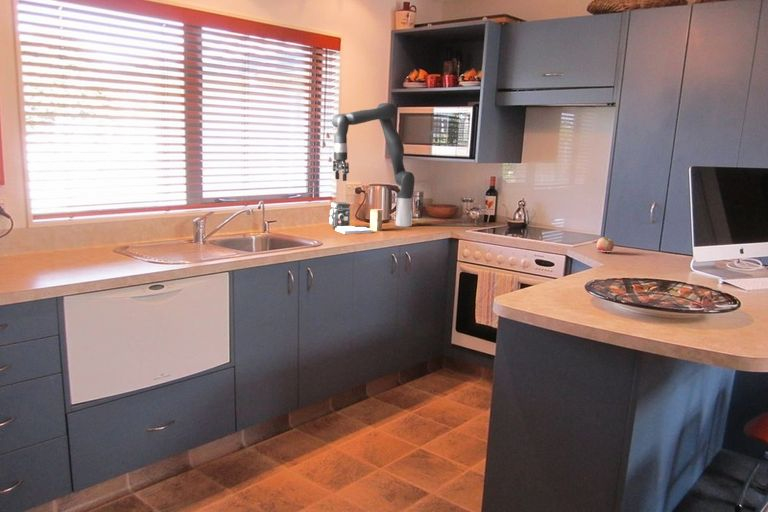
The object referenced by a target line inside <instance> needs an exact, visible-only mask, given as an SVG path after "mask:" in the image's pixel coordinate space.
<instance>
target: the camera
mask: <svg viewBox="0 0 768 512" xmlns="http://www.w3.org/2000/svg"><path fill="white" fill-rule="evenodd" d="M330 207H331V208H330V210H329V214H328V218H329V224H330V226H332V228H334V229H335V228H337V227H339V226H351V224H350V223H351V222H350V221H351V208H350V207H351V203H348V202H343V201H342V202H341V201H333V202H331V203H330Z"/></svg>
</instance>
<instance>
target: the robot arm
mask: <svg viewBox="0 0 768 512" xmlns="http://www.w3.org/2000/svg"><path fill="white" fill-rule="evenodd" d="M397 108H398V107H396V105H395V104H394V103H392V102H391V103H390V102H382V103H379V104H378V106H377V107H376V108H370V109H361V110H356V111H352V112H349V113H340V114H336V115H334V116H333V117H332V119H331V124H332V126H333V127H335V128H337V131H336V132H335V133H334V137H333V140H334V141H333V142H334V143H333V159H334V160H333V161H332V171H333V172H334V173H335V180H340V172H341V173H342V182H346V181H347V177H348V176H347V175H348V174H349V173H350V168H349V162H346V161H347V160H348V144H347V143H348V138H347V137H348V136H347V135H348V131H349V127H350V126H354V125H361V124H363V123H368V122H371V121H376V120H378V121H379V123H380V125H381V129H382V132H383V135H384V138H385V139H384V140H385V141H386V145H387V150H388V153H389V156H390V160H391V164H392V169H393V175H394V180H395V184H397V185H398V186H400V190H399V191H398V192H396V205H395V207H396V208H395V210H396V211H395V226H396V227H405V228H406V227H412V224H413V210H412V202H413V200H412V199H413V194H414V191H415V190H414V189H415V175H414V173H412V172H411V171H406V169H405V165H404V155H405V148H404V147H405V146H404V143H403V140H402V138H401V136H400V134H399V132H398V131H397V130H396V128H395V126H394V124H393V120H392V119H394V118H395V117H396V116H397V114H398V109H397Z"/></svg>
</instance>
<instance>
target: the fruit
mask: <svg viewBox="0 0 768 512" xmlns="http://www.w3.org/2000/svg"><path fill="white" fill-rule="evenodd" d="M596 248H597V250H603V251H611V252H612V251H613V249H614V248H615V243H614V240H613V239H610V238H608V237H607V236H602V237H600V238H599V239H598V240H597V241H596Z"/></svg>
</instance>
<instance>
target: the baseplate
mask: <svg viewBox="0 0 768 512" xmlns="http://www.w3.org/2000/svg"><path fill="white" fill-rule="evenodd" d="M334 229H335V232H338V233H341V234H343V235H348V234H349V235H351V234H369V233H370V234H372V233H374V231H373V230H372V229H370V227H369V228H367V227H365V226H353V225H350V226H339V227H337V228H334Z"/></svg>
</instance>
